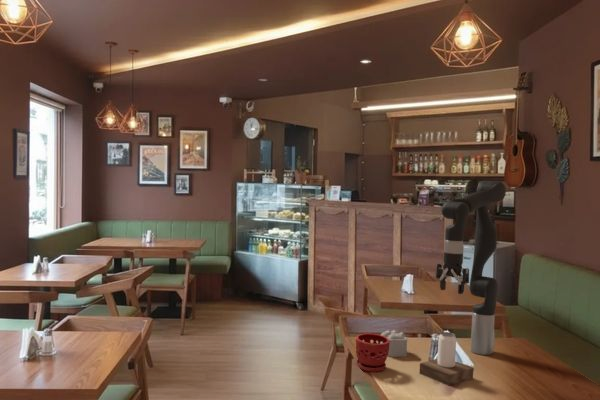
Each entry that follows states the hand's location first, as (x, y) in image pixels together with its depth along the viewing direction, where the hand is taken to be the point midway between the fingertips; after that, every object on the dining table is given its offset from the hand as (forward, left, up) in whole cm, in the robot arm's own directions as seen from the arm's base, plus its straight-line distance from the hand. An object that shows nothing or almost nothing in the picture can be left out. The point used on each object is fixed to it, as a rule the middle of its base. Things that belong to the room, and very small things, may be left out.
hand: (451, 291), depth 213 cm
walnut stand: (+10, +7, -30) cm, 32 cm away
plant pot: (+29, -14, -30) cm, 44 cm away
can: (+10, +7, -26) cm, 29 cm away
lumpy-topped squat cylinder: (+7, -24, -30) cm, 39 cm away
